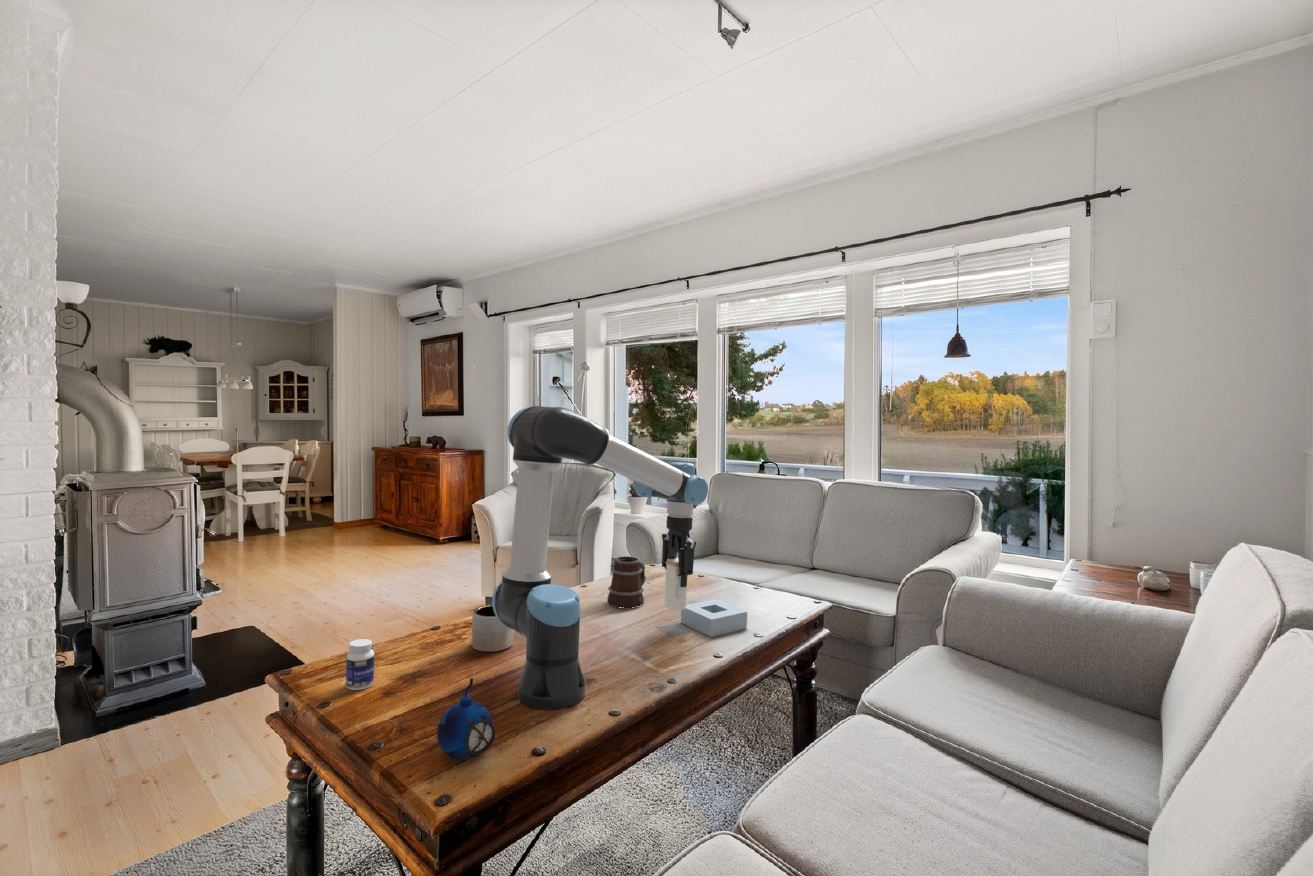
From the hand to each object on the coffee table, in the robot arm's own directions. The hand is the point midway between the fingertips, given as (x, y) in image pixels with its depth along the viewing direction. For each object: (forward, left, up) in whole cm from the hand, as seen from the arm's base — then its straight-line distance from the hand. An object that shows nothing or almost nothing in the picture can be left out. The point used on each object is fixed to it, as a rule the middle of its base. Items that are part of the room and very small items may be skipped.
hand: (675, 595), depth 180 cm
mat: (+1, 0, -11) cm, 11 cm away
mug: (+5, +31, -11) cm, 33 cm away
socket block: (+13, -3, -11) cm, 17 cm away
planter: (-48, +17, -11) cm, 53 cm away
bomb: (-72, -32, -11) cm, 79 cm away
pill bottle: (-82, +9, -11) cm, 84 cm away
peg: (0, 0, -4) cm, 4 cm away
